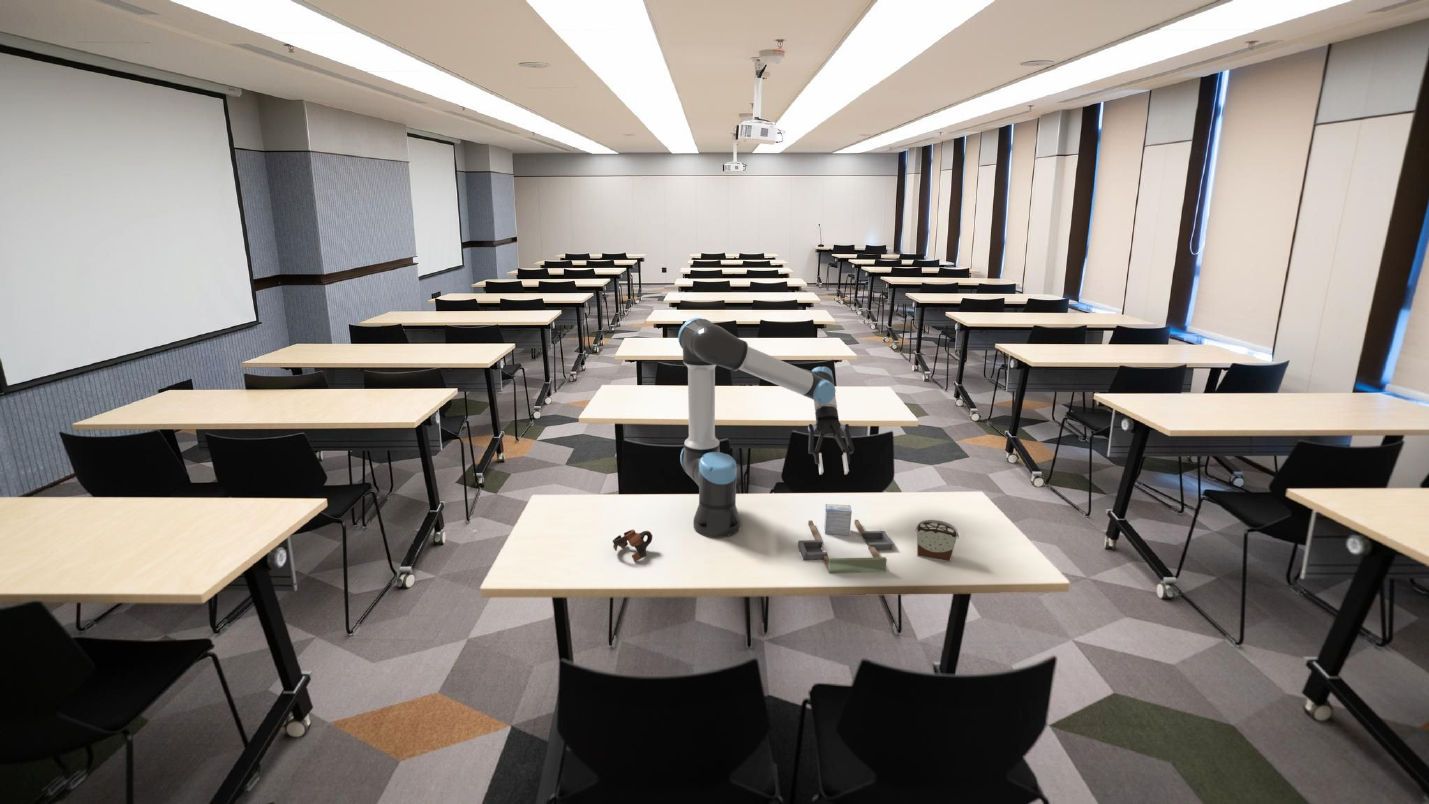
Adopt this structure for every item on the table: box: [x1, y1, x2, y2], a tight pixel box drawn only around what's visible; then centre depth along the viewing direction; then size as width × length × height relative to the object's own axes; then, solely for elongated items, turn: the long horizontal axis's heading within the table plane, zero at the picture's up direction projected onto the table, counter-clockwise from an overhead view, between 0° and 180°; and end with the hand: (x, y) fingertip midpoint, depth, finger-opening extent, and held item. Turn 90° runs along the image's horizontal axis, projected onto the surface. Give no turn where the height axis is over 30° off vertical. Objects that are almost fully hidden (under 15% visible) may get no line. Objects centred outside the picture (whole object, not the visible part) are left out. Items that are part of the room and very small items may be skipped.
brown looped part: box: [612, 529, 653, 563], centre depth 201 cm, size 12×10×8 cm
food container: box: [914, 519, 960, 563], centre depth 202 cm, size 12×6×10 cm, turn 71°
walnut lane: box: [808, 519, 888, 574], centre depth 207 cm, size 29×16×4 cm, turn 4°
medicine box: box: [823, 503, 853, 536], centre depth 215 cm, size 8×4×9 cm, turn 84°
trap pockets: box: [797, 530, 894, 561], centre depth 206 cm, size 13×28×2 cm, turn 94°
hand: (834, 472), depth 220 cm, fingers open, 8 cm apart
